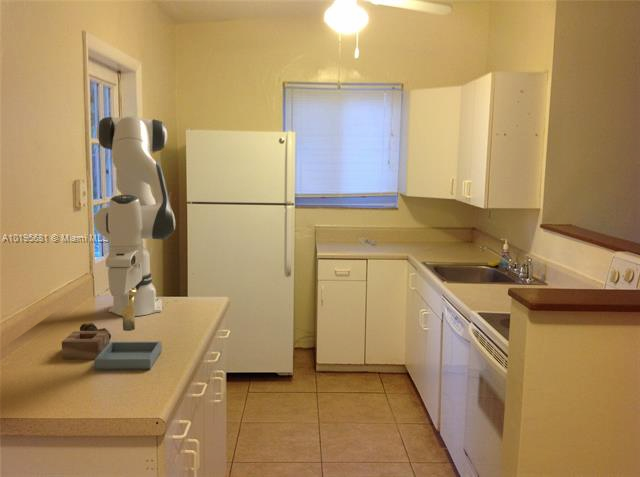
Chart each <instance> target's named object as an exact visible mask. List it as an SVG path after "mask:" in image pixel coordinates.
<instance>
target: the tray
mask: <svg viewBox="0 0 640 477" xmlns="http://www.w3.org/2000/svg"><path fill="white" fill-rule="evenodd" d="M162 344H163V343H162V341H109V344H108V345H107V346H106V347H105V349H104V350H103V351H102V352H101V353H100V354H99V355H98V356H97V357H96V358H95V359H94V371H151V370H152V368H153V366H154V365H155V363H156V362H157V360H158V359H159V357H160V355H161V353H162V351H163V350H162Z"/></svg>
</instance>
